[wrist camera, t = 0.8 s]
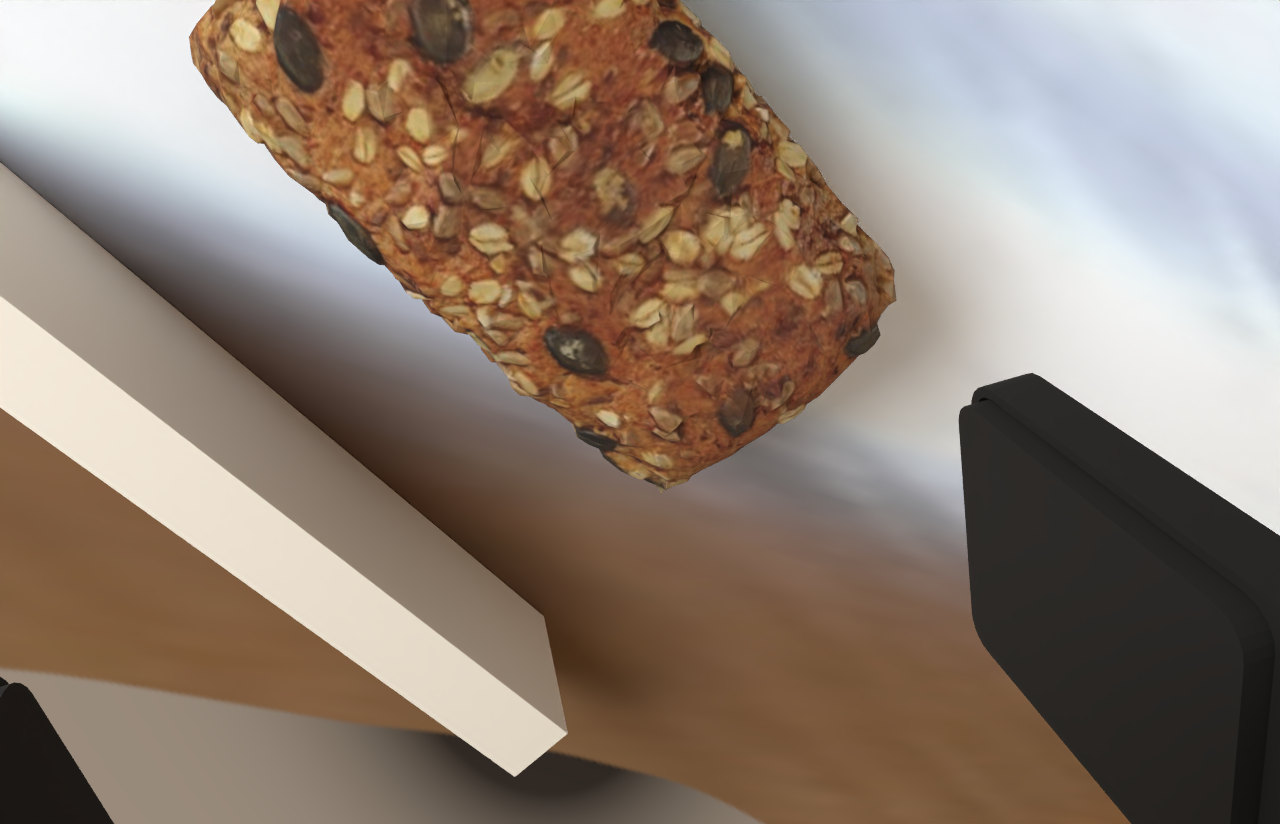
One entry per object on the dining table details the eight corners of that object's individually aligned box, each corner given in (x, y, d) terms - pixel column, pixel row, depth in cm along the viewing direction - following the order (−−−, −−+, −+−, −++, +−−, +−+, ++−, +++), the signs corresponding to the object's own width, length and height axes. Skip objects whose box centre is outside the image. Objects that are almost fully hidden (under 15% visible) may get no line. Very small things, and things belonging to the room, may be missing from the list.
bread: (821, 231, 37) (951, 316, 28) (610, 422, 38) (670, 561, 30) (456, -225, 29) (477, -309, 20) (206, 37, 30) (121, 67, 21)
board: (-102, 77, 29) (-243, 108, 23) (543, 616, 41) (567, 733, 35) (-159, 135, 29) (-313, 182, 23) (499, 654, 41) (514, 776, 35)
